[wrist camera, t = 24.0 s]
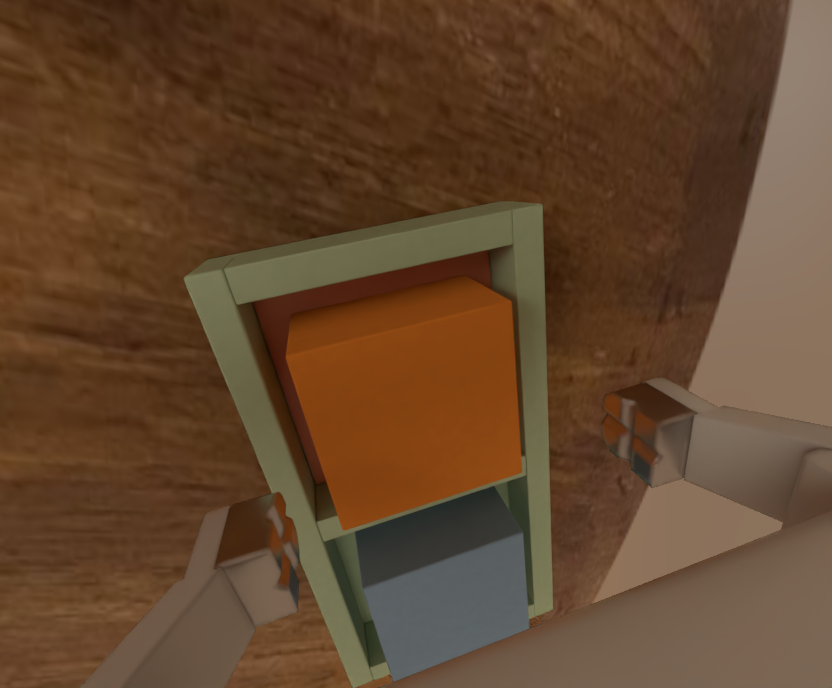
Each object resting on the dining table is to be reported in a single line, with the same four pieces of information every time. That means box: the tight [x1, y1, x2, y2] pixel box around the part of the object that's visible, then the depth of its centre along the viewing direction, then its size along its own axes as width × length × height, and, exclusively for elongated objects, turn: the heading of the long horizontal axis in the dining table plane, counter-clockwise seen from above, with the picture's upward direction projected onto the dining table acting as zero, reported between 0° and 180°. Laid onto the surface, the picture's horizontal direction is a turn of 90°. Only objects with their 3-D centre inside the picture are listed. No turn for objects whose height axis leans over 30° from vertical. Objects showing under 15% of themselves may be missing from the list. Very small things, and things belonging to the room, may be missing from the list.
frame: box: [184, 201, 553, 688], centre depth 16 cm, size 10×19×3 cm, turn 9°
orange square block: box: [286, 275, 522, 531], centre depth 13 cm, size 6×6×4 cm
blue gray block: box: [355, 486, 529, 682], centre depth 16 cm, size 6×6×4 cm
